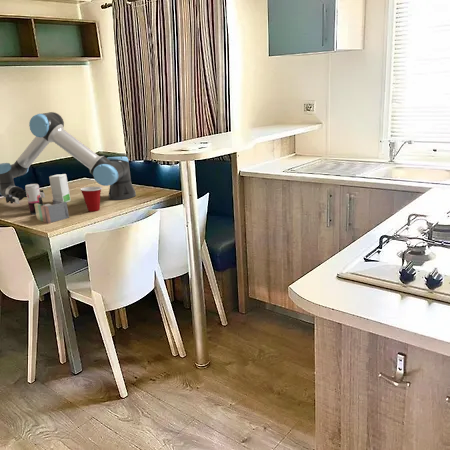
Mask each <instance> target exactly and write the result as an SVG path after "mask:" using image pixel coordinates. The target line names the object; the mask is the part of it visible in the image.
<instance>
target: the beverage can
mask: <svg viewBox="0 0 450 450" xmlns="http://www.w3.org/2000/svg"><path fill="white" fill-rule="evenodd" d="M24 188H25V191H26V194H27V197H26V198H27V203H28V204H27V205H28V208H29V209H28V210H29V213H30V214H31V215H36V211H35V206H34V204H36V203H38V204H39V199H38V198H39V197H41V195H40V190H41V189H40V185H39V184H38V183H30V184H26V185H25V187H24Z"/></svg>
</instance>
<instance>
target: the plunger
mask: <svg viewBox="0 0 450 450" xmlns="http://www.w3.org/2000/svg"><path fill="white" fill-rule="evenodd" d="M38 199H39V204H41V205H44V206H50V205H52V204H51V203H46V204H44V203H43V198H42V197H39V198H38Z"/></svg>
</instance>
